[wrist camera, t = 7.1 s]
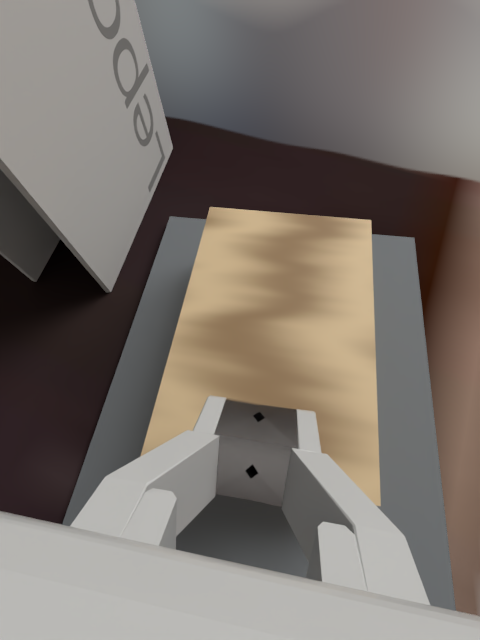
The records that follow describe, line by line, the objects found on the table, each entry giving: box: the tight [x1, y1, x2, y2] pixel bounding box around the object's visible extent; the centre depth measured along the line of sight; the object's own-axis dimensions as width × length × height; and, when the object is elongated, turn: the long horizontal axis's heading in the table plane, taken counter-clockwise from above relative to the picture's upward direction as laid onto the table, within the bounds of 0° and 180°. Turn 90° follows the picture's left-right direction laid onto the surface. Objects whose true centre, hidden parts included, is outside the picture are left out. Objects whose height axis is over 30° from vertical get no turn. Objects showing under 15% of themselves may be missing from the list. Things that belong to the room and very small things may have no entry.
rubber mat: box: [62, 216, 456, 611], centre depth 15 cm, size 16×22×1 cm
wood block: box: [140, 207, 381, 506], centre depth 14 cm, size 8×4×12 cm
